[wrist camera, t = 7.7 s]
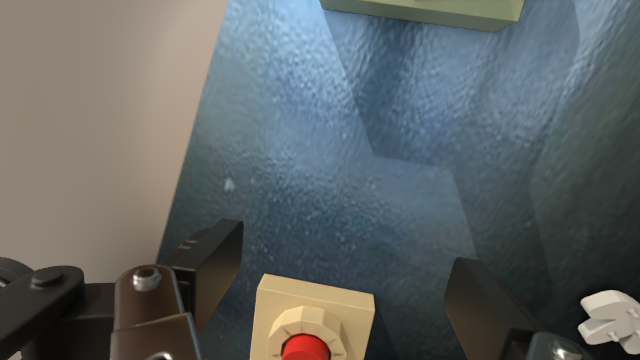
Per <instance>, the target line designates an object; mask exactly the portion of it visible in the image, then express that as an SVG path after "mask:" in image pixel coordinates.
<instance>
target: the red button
mask: <svg viewBox="0 0 640 360" xmlns="http://www.w3.org/2000/svg"><path fill="white" fill-rule="evenodd" d="M282 360H328V348H327V346H326V344H325V343H324V341H323V340H322V339H320V338H319V337H317V336H315V335H311V334H306V333H300V334H296V335H294V336H292V337H291V338H290V339H289V340H288V341H287V343H286V346H285V349H284V353H283V357H282Z"/></svg>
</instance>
